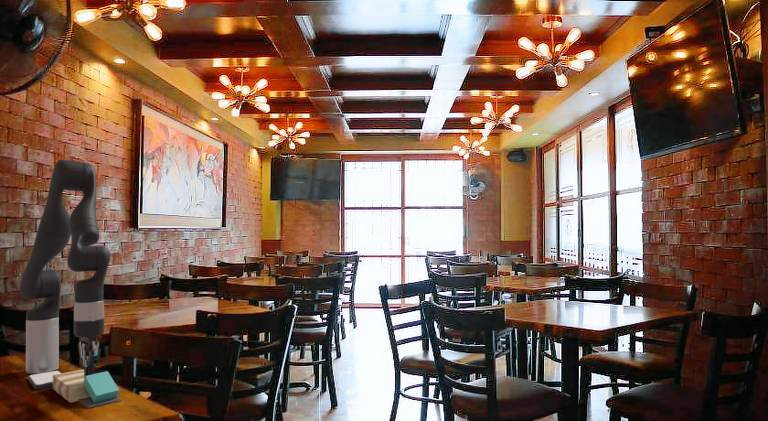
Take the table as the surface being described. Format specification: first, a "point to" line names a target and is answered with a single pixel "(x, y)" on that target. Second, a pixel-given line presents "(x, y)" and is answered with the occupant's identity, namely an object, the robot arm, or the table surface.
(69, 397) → the board
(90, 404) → the mat
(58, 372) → the phone case
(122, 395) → the table surface
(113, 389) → the turquoise rectangular block
